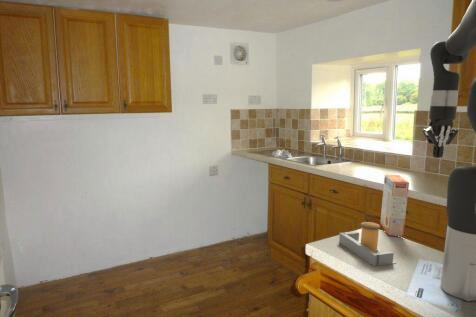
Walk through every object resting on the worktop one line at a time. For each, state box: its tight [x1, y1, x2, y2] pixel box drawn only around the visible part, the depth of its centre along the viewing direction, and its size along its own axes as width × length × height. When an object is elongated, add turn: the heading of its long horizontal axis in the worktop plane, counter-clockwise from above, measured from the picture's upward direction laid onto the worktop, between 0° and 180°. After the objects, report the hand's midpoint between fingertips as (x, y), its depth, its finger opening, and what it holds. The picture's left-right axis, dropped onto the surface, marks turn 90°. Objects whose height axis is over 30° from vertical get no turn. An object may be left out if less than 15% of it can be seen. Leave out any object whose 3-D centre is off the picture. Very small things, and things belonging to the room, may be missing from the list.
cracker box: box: [379, 174, 410, 238], centre depth 132 cm, size 14×6×21 cm, turn 168°
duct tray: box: [338, 230, 397, 267], centre depth 112 cm, size 19×8×4 cm, turn 16°
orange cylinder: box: [360, 221, 381, 252], centre depth 112 cm, size 6×6×9 cm
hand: (437, 157), depth 114 cm, fingers closed
